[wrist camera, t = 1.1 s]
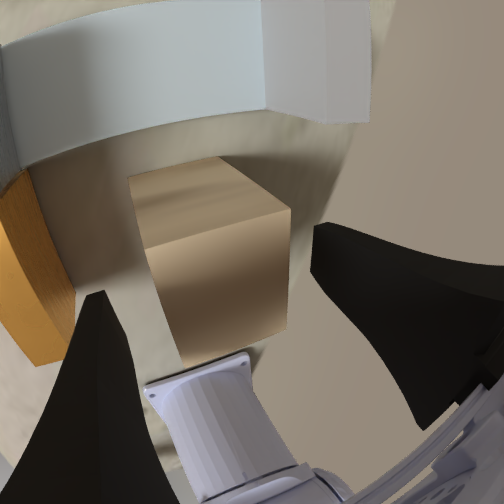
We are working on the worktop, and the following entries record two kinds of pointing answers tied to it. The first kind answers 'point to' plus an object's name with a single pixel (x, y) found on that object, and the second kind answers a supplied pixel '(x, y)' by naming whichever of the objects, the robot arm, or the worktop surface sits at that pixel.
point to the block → (214, 255)
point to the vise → (186, 68)
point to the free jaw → (29, 261)
